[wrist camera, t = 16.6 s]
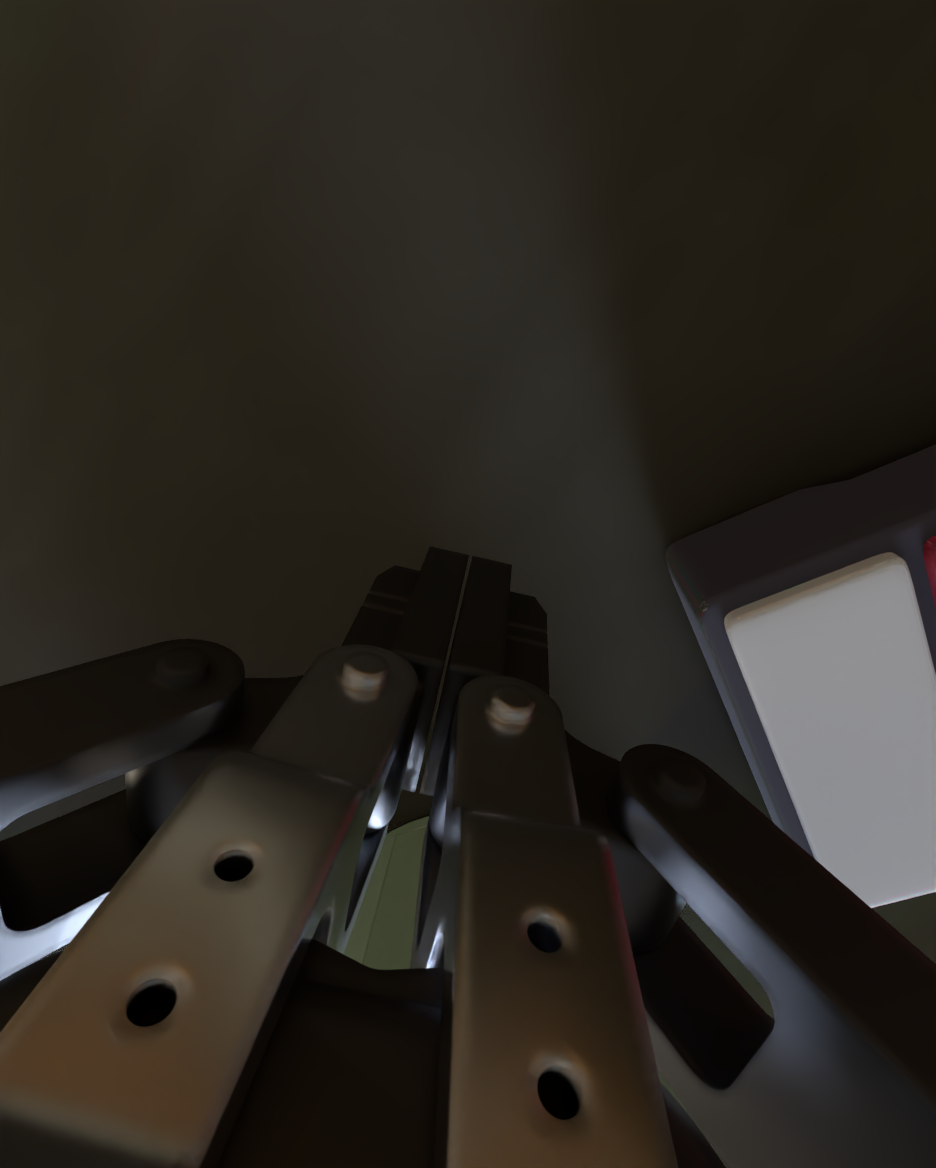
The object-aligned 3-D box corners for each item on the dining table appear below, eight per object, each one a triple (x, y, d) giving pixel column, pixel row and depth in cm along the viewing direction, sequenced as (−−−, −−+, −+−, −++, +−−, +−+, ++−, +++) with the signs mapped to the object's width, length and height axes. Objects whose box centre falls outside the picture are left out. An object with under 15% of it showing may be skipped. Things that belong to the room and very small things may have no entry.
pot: (370, 1042, 30) (311, 1307, 22) (310, 741, 22) (186, 994, 14) (646, 1068, 28) (683, 1360, 21) (689, 755, 20) (775, 1044, 13)
